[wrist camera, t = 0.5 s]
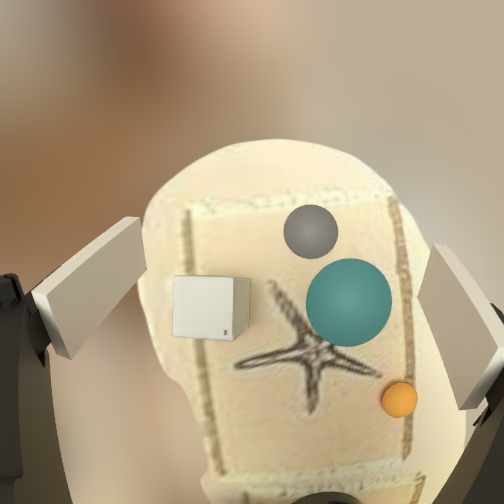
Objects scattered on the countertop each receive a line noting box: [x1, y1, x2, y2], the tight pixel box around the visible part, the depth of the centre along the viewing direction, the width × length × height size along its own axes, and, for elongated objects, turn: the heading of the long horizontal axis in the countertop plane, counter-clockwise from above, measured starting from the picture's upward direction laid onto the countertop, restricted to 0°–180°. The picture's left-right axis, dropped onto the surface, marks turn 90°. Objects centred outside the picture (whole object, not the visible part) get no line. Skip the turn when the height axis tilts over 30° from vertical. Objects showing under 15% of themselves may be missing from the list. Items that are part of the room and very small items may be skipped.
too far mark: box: [284, 205, 338, 259], centre depth 46 cm, size 8×8×1 cm
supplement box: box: [172, 275, 250, 341], centre depth 41 cm, size 7×7×13 cm
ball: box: [382, 383, 418, 418], centre depth 40 cm, size 6×6×6 cm
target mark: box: [306, 259, 392, 347], centre depth 45 cm, size 13×13×1 cm
